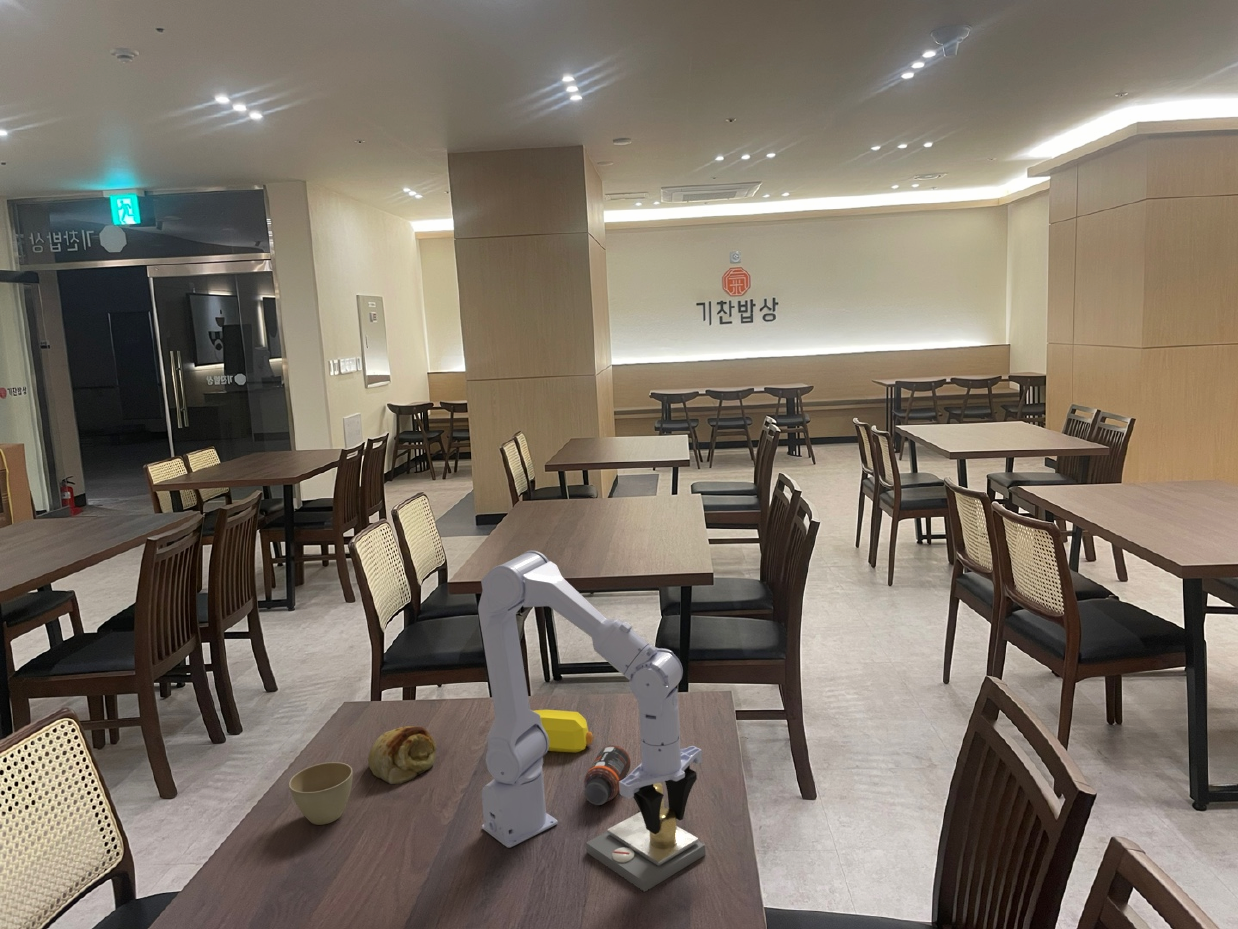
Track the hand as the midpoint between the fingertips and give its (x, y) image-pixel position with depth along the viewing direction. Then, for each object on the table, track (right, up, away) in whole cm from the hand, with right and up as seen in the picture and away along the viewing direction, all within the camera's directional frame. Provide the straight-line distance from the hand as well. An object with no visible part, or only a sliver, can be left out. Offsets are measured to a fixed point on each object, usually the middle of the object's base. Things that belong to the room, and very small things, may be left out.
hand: (664, 824), depth 127 cm
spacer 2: (0, -3, +1) cm, 3 cm away
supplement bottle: (-7, +1, +25) cm, 26 cm away
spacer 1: (-1, -3, +14) cm, 14 cm away
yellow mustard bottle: (-20, -1, +38) cm, 43 cm away
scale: (-3, -5, +2) cm, 6 cm away
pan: (-2, -4, +3) cm, 5 cm away
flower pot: (-55, -6, +18) cm, 58 cm away
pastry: (-46, -3, +34) cm, 57 cm away
